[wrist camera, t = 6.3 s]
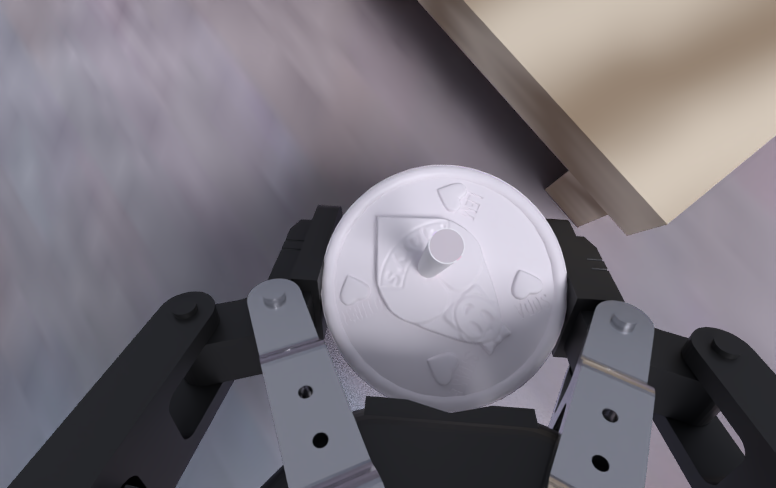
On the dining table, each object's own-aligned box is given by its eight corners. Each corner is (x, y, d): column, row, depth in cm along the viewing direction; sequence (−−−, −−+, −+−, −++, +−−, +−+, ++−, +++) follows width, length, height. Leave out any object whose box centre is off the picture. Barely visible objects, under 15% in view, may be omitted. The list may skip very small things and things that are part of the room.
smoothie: (424, 199, 21) (471, -4, 7) (518, 293, 20) (786, 278, 6) (329, 289, 20) (175, 267, 6) (422, 388, 20) (475, 607, 6)
